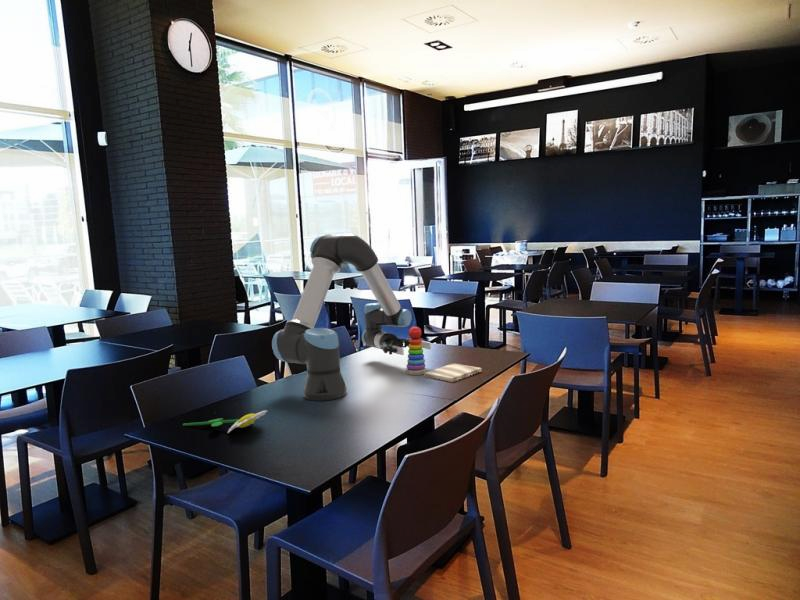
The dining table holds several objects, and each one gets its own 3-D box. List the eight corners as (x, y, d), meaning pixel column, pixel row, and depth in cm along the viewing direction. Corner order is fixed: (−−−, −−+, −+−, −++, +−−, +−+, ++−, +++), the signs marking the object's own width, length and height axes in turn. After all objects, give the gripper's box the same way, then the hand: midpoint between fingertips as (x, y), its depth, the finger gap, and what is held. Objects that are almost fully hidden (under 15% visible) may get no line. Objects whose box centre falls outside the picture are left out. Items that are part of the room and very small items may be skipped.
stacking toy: (426, 375, 216) (424, 328, 214) (406, 376, 216) (404, 329, 214) (426, 370, 224) (424, 324, 222) (406, 371, 224) (404, 325, 222)
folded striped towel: (452, 382, 205) (451, 378, 204) (424, 376, 214) (424, 372, 214) (481, 371, 217) (481, 368, 217) (453, 366, 227) (453, 363, 227)
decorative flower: (170, 440, 166) (253, 434, 156) (167, 424, 166) (250, 418, 156) (199, 427, 178) (278, 422, 168) (196, 413, 178) (275, 406, 168)
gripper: (410, 345, 244) (441, 352, 227) (362, 355, 230) (391, 363, 212) (409, 328, 243) (440, 334, 226) (361, 337, 229) (390, 344, 211)
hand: (416, 348), depth 219 cm, fingers open, 13 cm apart
